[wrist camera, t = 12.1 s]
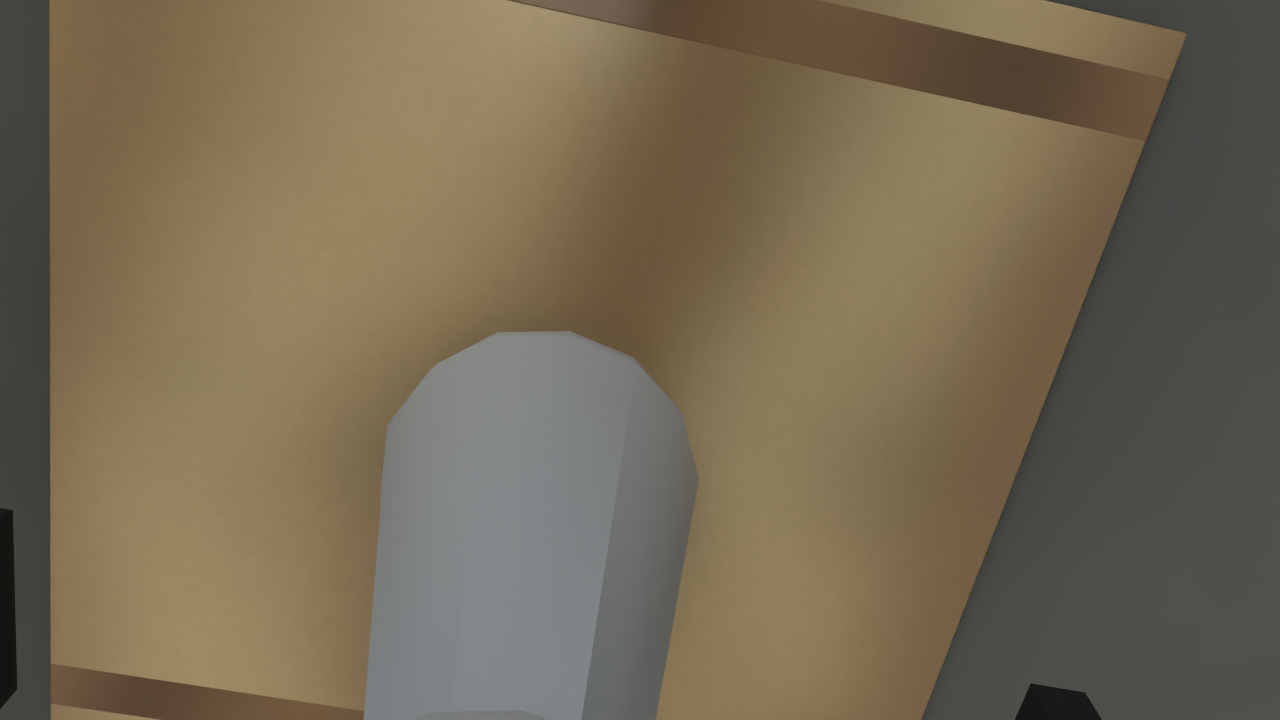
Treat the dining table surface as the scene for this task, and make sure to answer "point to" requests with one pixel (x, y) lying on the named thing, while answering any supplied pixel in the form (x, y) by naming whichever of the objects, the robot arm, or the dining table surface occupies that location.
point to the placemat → (561, 310)
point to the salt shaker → (529, 537)
